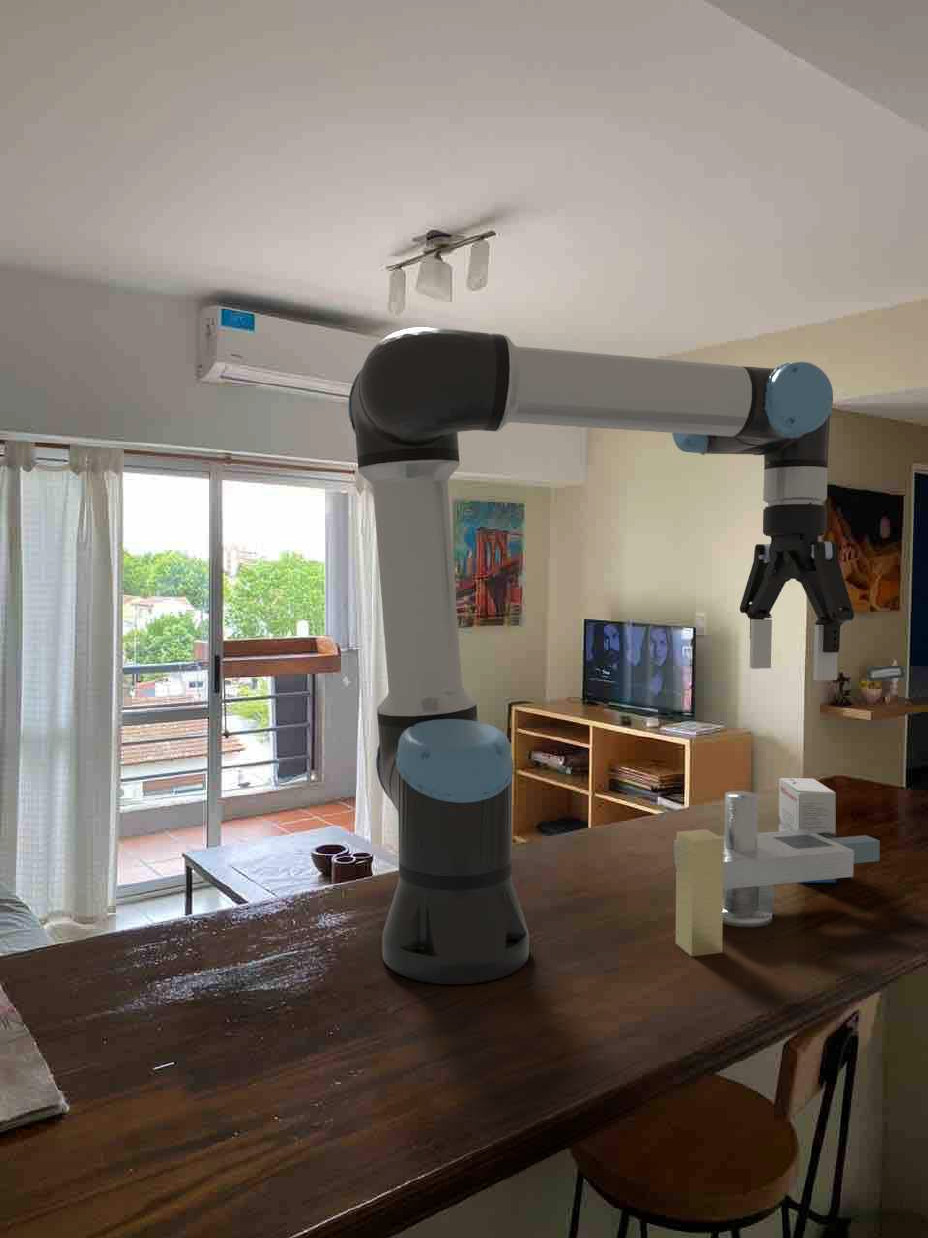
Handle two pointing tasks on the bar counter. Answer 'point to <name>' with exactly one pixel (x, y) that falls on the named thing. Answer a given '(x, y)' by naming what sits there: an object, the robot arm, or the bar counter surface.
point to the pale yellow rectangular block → (699, 892)
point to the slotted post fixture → (776, 860)
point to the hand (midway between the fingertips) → (790, 674)
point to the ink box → (807, 809)
